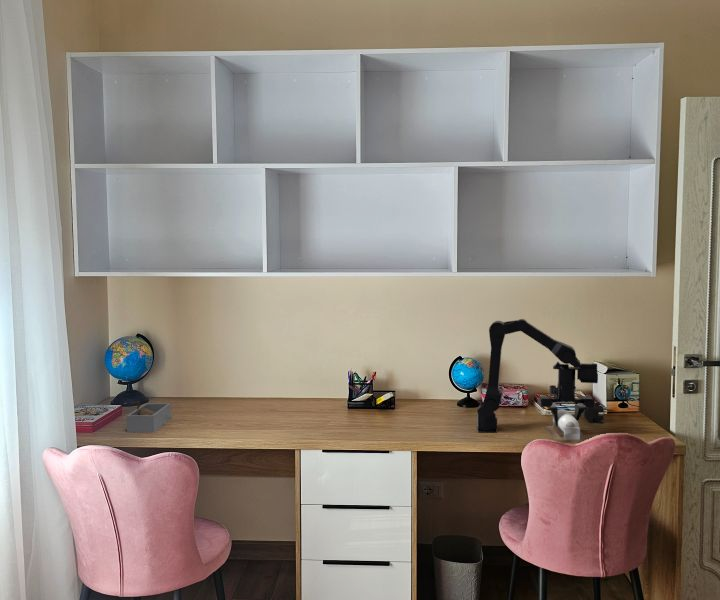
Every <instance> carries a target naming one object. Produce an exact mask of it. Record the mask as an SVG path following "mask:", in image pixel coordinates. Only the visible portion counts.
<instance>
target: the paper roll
mask: <svg viewBox="0 0 720 600" xmlns="http://www.w3.org/2000/svg"><path fill="white" fill-rule="evenodd" d="M553 419H554V418H553V417H552V420H553ZM554 422H555V421H554ZM558 426H559V427H560V428H561V430H562V431H563V432H564V427H579V428H580V424H579V420H578V421H577V420H576V419H575V418H574V415H572V414H571V413H570V412H569V411H568V410H566V409H563V408H561V409H558Z"/></svg>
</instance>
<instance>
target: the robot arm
mask: <svg viewBox="0 0 720 600" xmlns="http://www.w3.org/2000/svg"><path fill="white" fill-rule="evenodd" d="M517 332H521V333H523V334H525V335H527V336H528V337H529V338H531V339H532V340H534V341H536V343H538V344H540V345H541V346H543V347H545V348H546V349H548V350H549V352H551V353H552V354H553V355H554V356H555V357H556V358H557V359H558V360H559V361H560V362H562V363H560V362H559V361H557V362H556V363H555V364H554V365H553V366H552V369H553V370H558V373H557V386H556V385H554V384H553V385H549V390H548V391H549V395H538V398H537V404H538V406H540V407H541V408H547V409H548V410H550V411H551V416H552V419H553V418H554V421H555V424H556V426H558V410H559V409H558V406H557V405H574V415H573V417H574V418H575V419H576V420H577V421H578V422H579V420H580V418H581V416H582V415H583V414H582V413H583V411H584V410H587V407H595V402H596V400H595V399H594V398H593V397H591V396H590V395H588V396H587V395H586V396H585V395H584V396H583V395H580V396H579V398H576V390H577V389H576V387H577V386H576V379H577V380H579V381H580V383H583V384H584V383H585V384H598V382H599V381H598V380H599V373H598V364H597V363H595V362H592V363H582V362H581V360H580V359H578V357H577V354H576V350H575V348H574V347H573V346H571V345H570V344H567V343H565V342H562V341H559V340H557V339H554V338H552V337H551V336H550V335H548V334H547V333H545V332H543V331H542V330H541V329H539V328H537V327H535V326H534V325H532V323H529V321H527V320H526V319H525V318H520V319H517V320H510V321H509V320H508V321H501V320H495V321H493V322H492V323H491V325H490V326H489V327H488V333H489V341H490V343H489V344H490V357H489V358H490V359H489V369H488V370H489V371H488V383H487V389H486V392H485V395H484V398H483V401H482V402H481V403H480V404H479V405H478V408H477V410H476V411H477V412H476V430H477V432H478V433H497V430H498V418H497V414H496V413H495V412H496V411H497V410H498V409H500V405H503V393H504V389H500V374H501V362H502V361H501V360H502V348H503V344H504V340H505V337H506V335H511V334H514V333H517ZM569 365H571V366H569ZM576 371H577V373H576ZM576 377H577V378H576ZM552 395H553V396H554V398H552V397H551V396H552Z"/></svg>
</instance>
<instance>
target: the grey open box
mask: <svg viewBox="0 0 720 600" xmlns="http://www.w3.org/2000/svg"><path fill="white" fill-rule="evenodd" d="M133 404H136V405H137V408H136V409H139V407H141V406H140V405H141V401H139V400H136V401H133V402H131V403H130V404H129V405H128V408H130V406H131V405H133ZM154 413H155V412H153V411H151V410H149V409H145V408H143V409H140V410H139V413H138V414H139V415H153V414H154ZM162 424H163V426H164V425H165V424H164V423H162Z"/></svg>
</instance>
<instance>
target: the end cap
mask: <svg viewBox="0 0 720 600" xmlns="http://www.w3.org/2000/svg"><path fill="white" fill-rule="evenodd" d="M604 411H605V408H604V406H603V405H601V403H600V402H599V401H598V402H596V401H595V407H587V410H584V411H583V413H582V414H581V415H583V417H584V418H585V419H586V420H587V422H589V423H590V424H604V415H600V414H599V413H604Z"/></svg>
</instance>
